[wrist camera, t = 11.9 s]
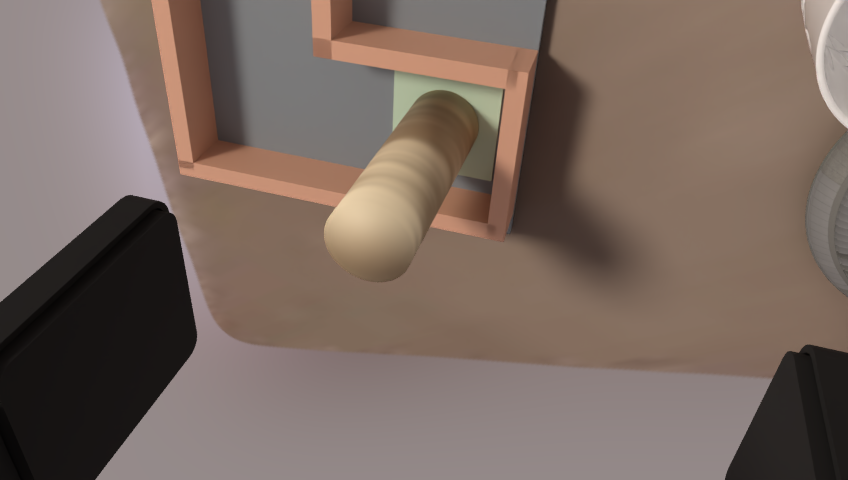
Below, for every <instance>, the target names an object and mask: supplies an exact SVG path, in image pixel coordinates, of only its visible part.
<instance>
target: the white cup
mask: <svg viewBox="0 0 848 480" xmlns="http://www.w3.org/2000/svg"><path fill="white" fill-rule="evenodd" d="M801 8H802V14H803V19H804V24H805V31H806V37H807V41H808V45H809V49H810V53H811V56H812V60H813V64H814V68H815V72H816V76H817V81H818V85H819V88H820V91H821V94H822V96H823V99H824V101H825V103H826V104H827V106H828V108H829V109H830V111H831V112H832V113H833V115H834V116H835V117H836V118H837V119H838V120H839V121H840V122H841V123H842V124H843V125H844V126H845V127H846V128H848V0H801Z"/></svg>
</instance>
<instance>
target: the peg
mask: <svg viewBox="0 0 848 480" xmlns="http://www.w3.org/2000/svg"><path fill="white" fill-rule="evenodd" d="M478 132H479V122H478V118H477V115H476V113H475V111H474V109H473V108H472V106H471V105H470V104H469V103H468V101H466V100H465V99H464V98H463V97H461V96H460V95H458V94H456V93H453V92H451V91H447V90H433V91H429V92H427V93H425V94H423V95H421V96H420V97H419V98H418V99H417V100H416V101H415V102H414V104H413V105H412V106H411V108H410V109H409V110H408V112H407V113H406V114H405V116H404V117H403V118H402V120H401V121H400V122H399V124H398V125H397V127H396V128H395V129H394V131H393V132H392V133H391V135H390V136H389V137H388V139H387V140H386V141H385V143H384V144H383V145H382V147H381V148H380V149H379V151H378V152H377V153H376V155H375V156H374V157H373V159H372V160H371V161H370V163H369V164H368V165H367V167H366V168H365V170H364V171H363V172H362V174H361V175H360V176H359V178H358V179H357V180H356V182H355V183H354V184H353V186H352V187H351V188H350V190H349V191H348V192H347V194H346V195H345V196H344V198H343V199H342V200H341V202H340V203H339V204H338V206H337V207H336V208H335V210H334V211H333V213H332V214H331V215H330V217H329V218H328V220H327V222H326V224H325V228H324V239H325V243H326V246H327V249H328V251H329V253H330V255H331V256H332V258H333V259H334V260H335V261H336V263H337V264H338V265H339V266H340V267H342V268H343V269H344V270H345V271H347V272H348V273H350V274H352V275H353V276H355V277H358V278H360V279H363V280H366V281H371V282H387V281H391V280H394V279H396V278H398V277H400V276H401V275H402V274H403V273H405V271H406V270H407V269H408V267H409V265H410V263H411V261H412V260H413V258H414V256H415V254H416V252H417V250H418V248H419V246H420V244H421V243H422V241H423V239H424V237H425V235H426V233H427V231H428V229H429V227H430V226H431V224H432V222H433V220H434V218H435V216H436V214H437V212H438V211H439V209H440V207H441V205H442V203H443V201H444V199H445V197H446V195H447V194H448V192H449V190H450V188H451V186H452V184H453V182H454V180H455V178H456V177H457V175H458V173H459V171H460V169H461V167H462V165H463V163H464V161H465V160H466V158H467V156H468V154H469V152H470V150H471V148H472V146H473V144H474V143H475V141H476V139H477V136H478Z"/></svg>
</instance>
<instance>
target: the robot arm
mask: <svg viewBox="0 0 848 480" xmlns="http://www.w3.org/2000/svg"><path fill="white" fill-rule="evenodd" d="M196 341H197V331H196V325H195V320H194V314H193V308H192V303H191V297H190V292H189V286H188V280H187V275H186V270H185V264H184V259H183V253H182V248H181V242H180V236H179V230H178V225H177V220H176V217H175V216H174V215H173V214H172V213H169V210H168V207H167V206H166V205H165V203H162V202H160V201H155V200H151V199H146V198H142V197H138V196H133V195H128V196H125V197H124V198H122V199H120V200H119V201H118V202H117V203H116V204H115V205H113V206H112V207H111V208H110V209H109V210H108V211H106V212H105V213H104V214H103V215H102V216H100V217H99V218H98V219H97V220H96V221H95V222H93V223H92V224H91V225H90V226H89V227H88V228H86V229H85V230H84V231H83V232H82V233H81V234H79V235H78V236H77V237H76V238H75V239H74V240H72V241H71V242H70V243H69V244H68V245H67V246H65V248H63V249H62V250H61V251H60V252H59V253H57V254H56V255H55V256H54V257H53V258H52V259H50V260H49V261H48V262H47V263H46V264H45V265H43V266H42V267H41V268H40V269H39V270H38V271H36V272H35V273H34V274H33V275H32V276H31V277H29V278H28V279H27V280H26V281H25V282H24V283H23V284H21V285H20V286H19V287H18V288H17V289H15V290H14V291H13V292H12V293H11V294H10V295H9V296H7V297H6V298H5V299H4V300H3V301H1V302H0V480H95V479H96V478H97V476H98V475H99V474H100V473H101V471H102V470H103V469H104V467H105V466H106V465H107V463H108V462H109V461H110V459H111V458H112V457H113V456H114V454H115V453H116V451H117V450H118V449H119V448H120V446H121V445H122V444H123V443H124V441H125V440H126V439H127V437H128V436H129V435H130V433H131V432H132V431H133V429H134V428H135V427H136V426H137V424H138V423H139V422H140V421H141V419H142V418H143V417H144V415H145V414H146V413H147V411H148V410H149V409H150V408H151V406H152V405H153V404H154V402H155V401H156V400H157V398H158V397H159V396H160V394H161V393H162V392H163V391H164V389H165V388H166V387H167V385H168V384H169V383H170V381H171V380H172V379H173V378H174V376H175V375H176V374H177V372H178V371H179V370H180V368H181V367H182V366H183V365H184V363H185V362H186V361H187V359H188V358H189V357H190V355H191V354H192V352H193V350H194V348H195V344H196ZM725 480H848V353H845V352H841V351H836V350H832V349H827V348H823V347H818V346H814V345H805V346H804V347H803V348H802V349H801V351H800V352H799V353H796V352H792V351H788V352H787V353H786V354H785V356H784V357H783V359H782V361H781V363H780V365H779V367H778V369H777V371H776V373H775V375H774V377H773V379H772V381H771V383H770V385H769V387H768V389H767V391H766V394H765V395H764V398H763V400H762V402H761V404H760V406H759V408H758V410H757V412H756V414H755V416H754V418H753V420H752V422H751V424H750V426H749V428H748V430H747V432H746V434H745V436H744V438H743V440H742V442H741V444H740V446H739V448H738V450H737V452H736V454H735V456H734V458H733V460H732V462H731V464H730V466H729V468H728V471H727V474H726V478H725Z"/></svg>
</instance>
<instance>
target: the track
mask: <svg viewBox="0 0 848 480" xmlns="http://www.w3.org/2000/svg"><path fill="white" fill-rule="evenodd" d="M151 1H152V7H153V13H154V19H155V25H156V31H157V36H158V42H159V48H160V54H161V60H162V66H163V72H164V78H165V84H166V90H167V96H168V102H169V108H170V114H171V120H172V126H173V132H174V138H175V144H176V150H177V155H178V161H179V167H180V173H181V174H183V175H188V176H192V177H197V178H202V179H207V180H211V181H216V182H221V183H225V184H230V185H235V186H240V187H244V188H249V189H254V190H259V191H263V192H268V193H273V194H278V195H282V196H287V197H292V198H297V199H301V200H306V201H311V202H316V203H320V204H325V205H330V206H334V207H337V206H338V204H339V203H340V202H341V200H342V199H343V198H344V196H345V195H346V194H347V192H348V191H349V190H350V188H351V187H352V186H353V184H354V183H355V182H356V180H357V179H358V178H359V176H360V175H361V174H362V172H363V171H364V170H365V168H366V167H367V165H368V164H369V163H370V161H371V160H372V159H373V157H374V156H375V155H376V153H377V152H378V151H379V149H380V148H381V147H382V145H383V144H384V143H385V141H386V140H387V139H388V137H389V136H390V135H391V133H392V132H393V131H394V129H395V128H396V127H397V125H398V124H399V122H400V121H401V120H402V118H403V117H404V116H405V114H406V113H407V112H408V110H409V109H410V108H411V106H412V105H413V104H414V102H415V101H416V100H417V99H418V98H419V97H420V96H421V95H423V94H425V93H427V92H429V91H433V90H447V91H451V92H453V93H456V94H458V95H460V96H461V97H463V98H464V99H465V100H466V101H468V103H469V104H470V105H471V106H472V108H473V109H474V111H475V113H476V115H477V118H478V122H479V132H478V136H477V139H476V141H475V143H474V144H473V146H472V148H471V150H470V152H469V154H468V156H467V158H466V160H465V161H464V163H463V165H462V167H461V169H460V171H459V173H458V175H457V177H456V178H455V180H454V182H453V184H452V186H451V188H450V190H449V192H448V194H447V195H446V197H445V199H444V201H443V203H442V205H441V207H440V209H439V211H438V212H437V214H436V216H435V218H434V220H433V222H432V224H431V226H430V227H434V228H439V229H443V230H448V231H453V232H458V233H462V234H467V235H472V236H477V237H481V238H486V239H491V240H496V241H500V242H504V239H505V236H506V233H507V234H510V232H511V229H512V223H513V217H514V210H515V204H516V197H517V191H518V185H519V178H520V172H521V165H522V159H523V153H524V146H525V140H526V133H527V127H528V121H529V114H530V108H531V101H532V95H533V89H534V82H535V76H536V69H537V63H538V56H539V50H540V44H541V37H542V31H543V24H544V18H545V12H546V5H547V0H151Z"/></svg>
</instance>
